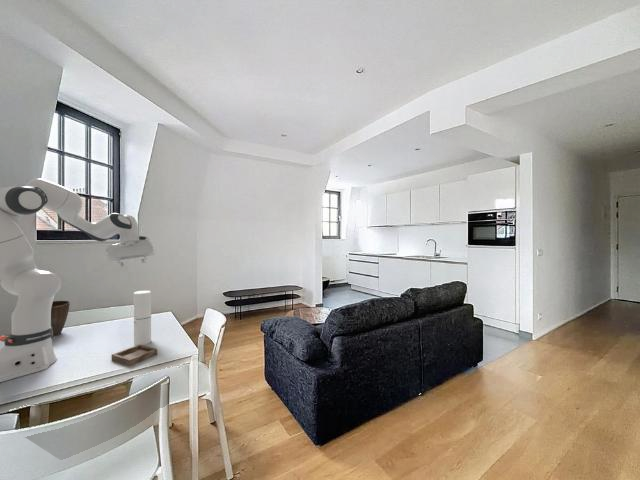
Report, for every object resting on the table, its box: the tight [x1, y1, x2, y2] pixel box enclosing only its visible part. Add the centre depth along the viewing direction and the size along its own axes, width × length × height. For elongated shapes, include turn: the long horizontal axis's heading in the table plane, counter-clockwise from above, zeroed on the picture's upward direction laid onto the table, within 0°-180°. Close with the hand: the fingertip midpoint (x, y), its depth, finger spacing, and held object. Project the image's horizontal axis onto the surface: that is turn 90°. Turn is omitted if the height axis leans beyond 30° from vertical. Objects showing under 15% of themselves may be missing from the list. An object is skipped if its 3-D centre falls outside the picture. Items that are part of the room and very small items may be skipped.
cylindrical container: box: [133, 290, 152, 346], centre depth 136 cm, size 7×7×25 cm
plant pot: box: [51, 300, 71, 337], centre depth 145 cm, size 15×15×16 cm
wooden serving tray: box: [111, 344, 158, 367], centre depth 120 cm, size 12×12×2 cm
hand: (132, 264), depth 142 cm, fingers open, 8 cm apart
